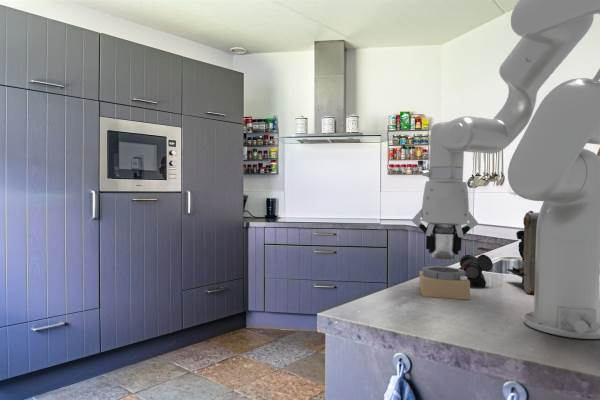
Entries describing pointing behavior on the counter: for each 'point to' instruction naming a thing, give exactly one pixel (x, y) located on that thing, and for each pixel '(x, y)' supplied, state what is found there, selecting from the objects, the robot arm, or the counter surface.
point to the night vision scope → (476, 268)
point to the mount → (444, 283)
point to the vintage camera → (527, 252)
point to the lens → (443, 241)
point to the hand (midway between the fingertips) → (443, 252)
